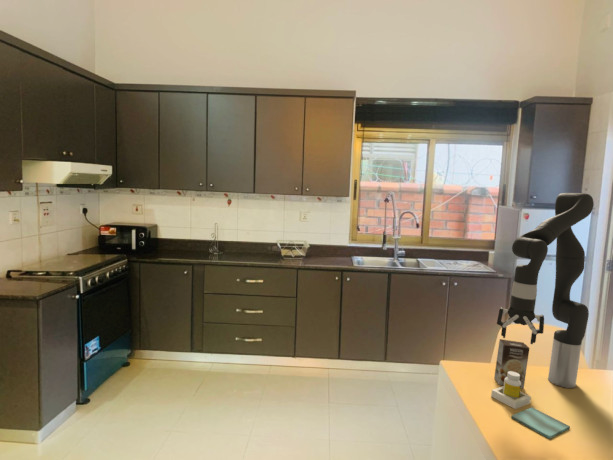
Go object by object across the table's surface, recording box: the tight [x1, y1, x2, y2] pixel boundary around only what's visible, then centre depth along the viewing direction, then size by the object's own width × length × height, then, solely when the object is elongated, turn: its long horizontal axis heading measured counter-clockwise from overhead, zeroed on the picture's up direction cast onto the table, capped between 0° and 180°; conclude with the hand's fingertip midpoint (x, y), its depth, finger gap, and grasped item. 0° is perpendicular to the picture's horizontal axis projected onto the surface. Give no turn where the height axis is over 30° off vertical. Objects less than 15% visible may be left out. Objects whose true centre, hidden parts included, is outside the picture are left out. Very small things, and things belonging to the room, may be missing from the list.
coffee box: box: [494, 338, 530, 389], centre depth 152 cm, size 9×6×16 cm
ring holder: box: [490, 385, 532, 410], centre depth 139 cm, size 9×9×2 cm
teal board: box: [510, 406, 571, 440], centre depth 126 cm, size 12×12×1 cm
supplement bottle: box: [502, 371, 522, 400], centre depth 139 cm, size 5×5×10 cm
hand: (517, 340), depth 137 cm, fingers open, 8 cm apart
